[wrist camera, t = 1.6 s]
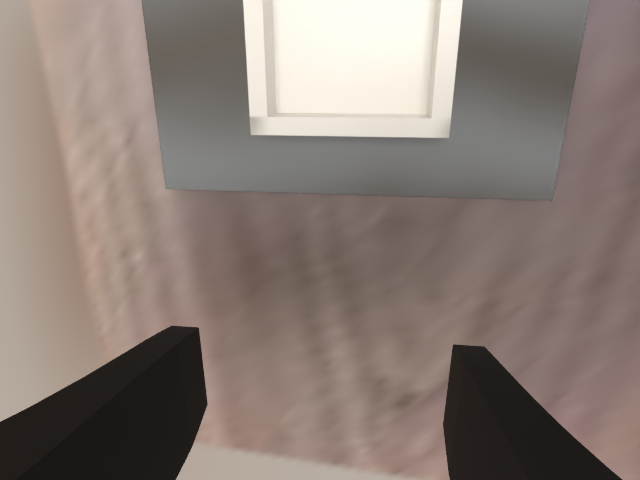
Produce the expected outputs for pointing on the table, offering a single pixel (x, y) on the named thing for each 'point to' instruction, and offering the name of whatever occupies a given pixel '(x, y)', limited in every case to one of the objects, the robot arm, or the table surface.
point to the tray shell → (351, 67)
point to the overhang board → (371, 152)
